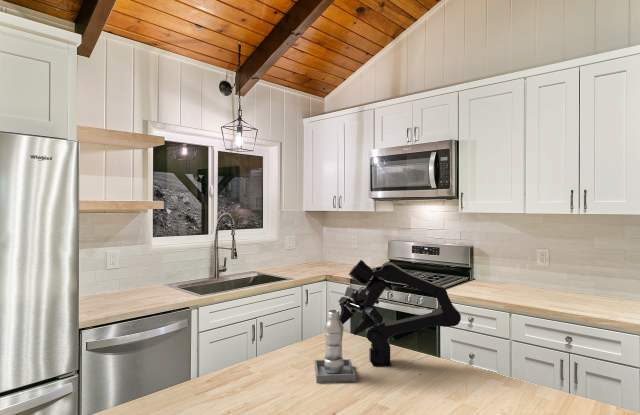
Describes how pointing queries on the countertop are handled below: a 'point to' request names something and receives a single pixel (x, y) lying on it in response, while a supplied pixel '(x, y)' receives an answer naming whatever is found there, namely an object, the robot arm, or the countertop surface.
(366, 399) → the countertop surface
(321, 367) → the gray tray
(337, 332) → the plastic bottle
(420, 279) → the robot arm
